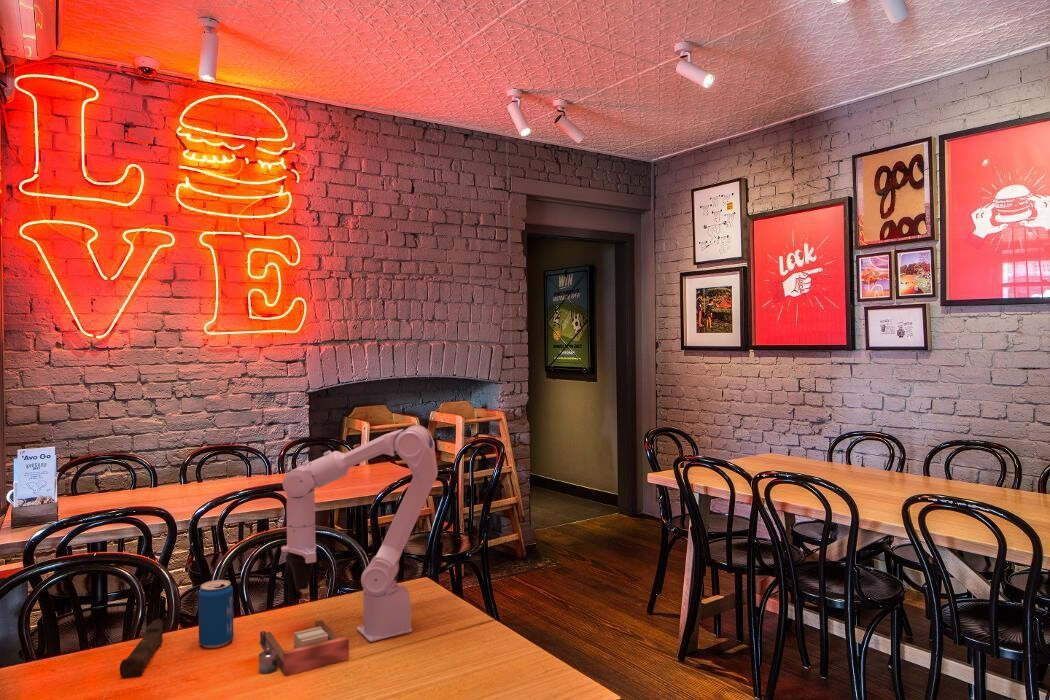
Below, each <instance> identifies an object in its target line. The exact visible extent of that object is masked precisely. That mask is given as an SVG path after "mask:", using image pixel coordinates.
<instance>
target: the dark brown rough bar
mask: <svg viewBox="0 0 1050 700" xmlns="http://www.w3.org/2000/svg"><path fill="white" fill-rule="evenodd" d="M163 627H164V624H163V620H162V619H160V618H157V619H155V620H153V621H152V622H151V623H149V625H147V626H146V628H145V634H144V635H143V637H142V638H141V640H140V641H139V642H138V643H137V645H136V646H135V648H133V650H132V651H131V652H130V654H129V655H128V656H127V657H126V658H125V659H123V660H121V662H120V665H119V675H120V676H121V678H122V679H131V678H137V677H140V676H141V675H142V674H143V672H144V669H145V667H146V665H147V663H148V661H149V660H150V659H151V658H152V656H153V654H154V653H155V651H156V650H157V649H159V648H160V647H161V645H162V642H163V634H164V629H163Z"/></svg>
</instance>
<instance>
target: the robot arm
mask: <svg viewBox="0 0 1050 700" xmlns="http://www.w3.org/2000/svg"><path fill="white" fill-rule="evenodd" d="M435 444H436V443H435V441H434V439H433V437H432V435H431V434H430V431H429V430H428V429H427V428H426V427H424V426H423V425H421V424H420V425H419V424H415V425H410V426H409V427H406V429H404V428H402V429H401V428H400V429H397V430H394V431H392V432H388V433H385V434H383V435H380V436H378V437H377V438H374V439H373V440H370V441H367V442H365V443H364V444H362V445H360V446H358V447H356V448H354V449H352V450H349V451H347V452H345V453H344V452H340V451H338V450H334V451H331V450H328V451H325V452H324V453H323V456H320V457H318V458H317V459H314V460H312V461H309V460H306V461H305V462H303V463H302V465H301V466H298V467H295V468H294V469H291V470H290V471H288V472H287V473H286V474H285V475H284V477H283V480H282V488H283V491H284V492H285V493H286V546H285V545H284V546H281V547H280V550H281V552H282V553H290V554H287V555H285V559H286V560H287V562H288V564H289V567H290V569H291V573H292V577H293V581H294V582H293V583H294V586H295V589H296V590H297V591H302V590H307V589H308V587H309V584H310V579H311V575H312V570H313V568H314V566H315V564H316V563H317V560H318V555H317V552H316V550H317V543H316V500H315V489H316V488H321V487H323V486H326V485H328V484H331V483H333V482H335V481H337V480H339V479H342V478H344V477H346V476H348V474H349V471H350V468H352V467H353V466H356V465H358V464H361V463H364V462H366V461H369V460H370V459H374V458H375V457H378V456H380V455H388V456H390V457H395V456H396V455H398V456H399V457H400V459H402V461H404V463H406V465H407V467H408V468H409V471H410V473H411V475H412V478H411V481H410V483H409V485H408V488H407V490H406V492H405V494H404V496H403V498H402V501H401V502H400V504H399V507H398V508H397V511H396V513H395V515H394V517H393V520H392V522H391V524H390V525H389V528H388V530H387V531H386V532H387V533H386V534H385V537H384V539H383V540H382V543H381V545H380V547H379V549H378V551H377V553H376V555H373V557H372V559H371V560H370V563H369V564H368V565H367V567H366V568H364V570H363V572H362V574H361V575H360V576H361V577H360V583H361V587H362V588H363V590H362V591H363V595H362V596H363V597H362V599H363V603H362V604H363V610H362V611H363V625H360V626H358V627H356V630H357V632H359V633H360V635H362V636H363V637H364V638H365V639H366V640H367V641H368V642H370V643H373V642H376V641H380V640H384V639H388V638H392V637H397V636H400V635H404V634H408V633H412V632H413V629H412V624H411V623H412V618H411V617H412V612H411V610H412V609H411V608H412V607H411V606H412V605H411V604H412V603H411V602H412V601H411V596H410V595H411V594H410V591H409V590H408V588H407V586H405V585H404V584H402V585H398V583H397V581H396V579H395V578H396V576H397V575H398V572H399V570H400V563H399V562H400V558H401V556H402V553H403V550H404V548H405V546H406V544H407V542H408V540H409V537H410V535H411V533H412V531H413V529H414V527H415V524H416V523H417V521H418V518H419V516H420V514H421V512H422V509H423V507H424V505H425V503H426V501H427V500H428V497H429V495H430V492H431V490H432V488H433V486H434V484H435V482H436V480H437V477H438V473H439V471H438V464H437V456H436V451H435V449H436V448H435V447H436V446H435Z"/></svg>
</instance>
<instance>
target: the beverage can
mask: <svg viewBox="0 0 1050 700" xmlns="http://www.w3.org/2000/svg"><path fill="white" fill-rule="evenodd" d="M197 596H198V597H197V598H198V602H197V603H198V604H197V605H198V606H197V607H198V644H199V645H201V646H203V648H207V649H215V648H216V649H218V648H220V647H224V646H226V645H227V644H229V643H230V641H232V640H233V638H234V587H233V586H232V585H231V581H230V580H228V579H227V580H226V579H216V580H209V581H206V582H204V583H202V584H201V585H200V589H199V590H198V594H197Z"/></svg>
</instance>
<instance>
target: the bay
mask: <svg viewBox="0 0 1050 700" xmlns="http://www.w3.org/2000/svg"><path fill="white" fill-rule="evenodd" d="M314 623H315V624H314V628H316V627H321V628H322V630H323V631H324V632H326V633H327V635H328V641H325V642H321V643H317V644H313V645H308V646H304V647H300V648H296V649H294V648H293V649H289V650H284V649H283V648H282V646H281V645H280V643H279V642H278V640H277V639H276V637H275V636H274V635H273V634H272V632H271V631H267V632H266V642H267V643H268V645H269V646H270V648H271V650H275V651H277V667H279V670H280V671H281V672H282V673H283V675H284V676H285V677H286V676H290V675H291V676H292V675H295V674H299V673H302V672H306V671H311V670H314V669H318V668H322V667H326V666H329V665H333V664H338V663H341V662H345V661H349V660H350V639H349V637H348V636H347V635H346V636H343V637H338V636H337V635H336V634H335V632H333V630H332V629H331V628H330V627H329V626H328V625H327V624H326V622H324V620H322V619H321V620H316V621H314Z"/></svg>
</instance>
